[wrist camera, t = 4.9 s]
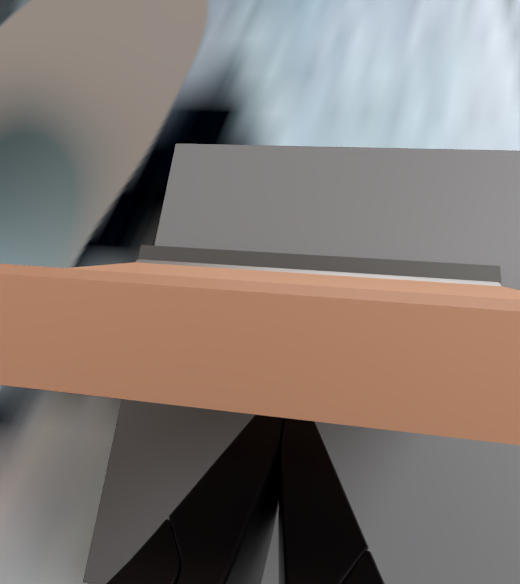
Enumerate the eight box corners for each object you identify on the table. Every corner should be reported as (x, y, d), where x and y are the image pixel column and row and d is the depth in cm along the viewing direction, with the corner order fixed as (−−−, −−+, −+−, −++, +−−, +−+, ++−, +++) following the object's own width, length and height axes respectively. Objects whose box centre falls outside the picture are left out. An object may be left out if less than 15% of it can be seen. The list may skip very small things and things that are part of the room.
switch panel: (844, 686, 12) (987, 754, 9) (106, 555, 15) (65, 580, 12) (715, 195, 16) (785, 154, 14) (181, 177, 20) (163, 141, 17)
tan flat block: (484, 322, 14) (826, 481, 4) (145, 295, 15) (-123, 370, 6) (490, 274, 13) (858, 335, 4) (146, 253, 15) (-128, 263, 6)
